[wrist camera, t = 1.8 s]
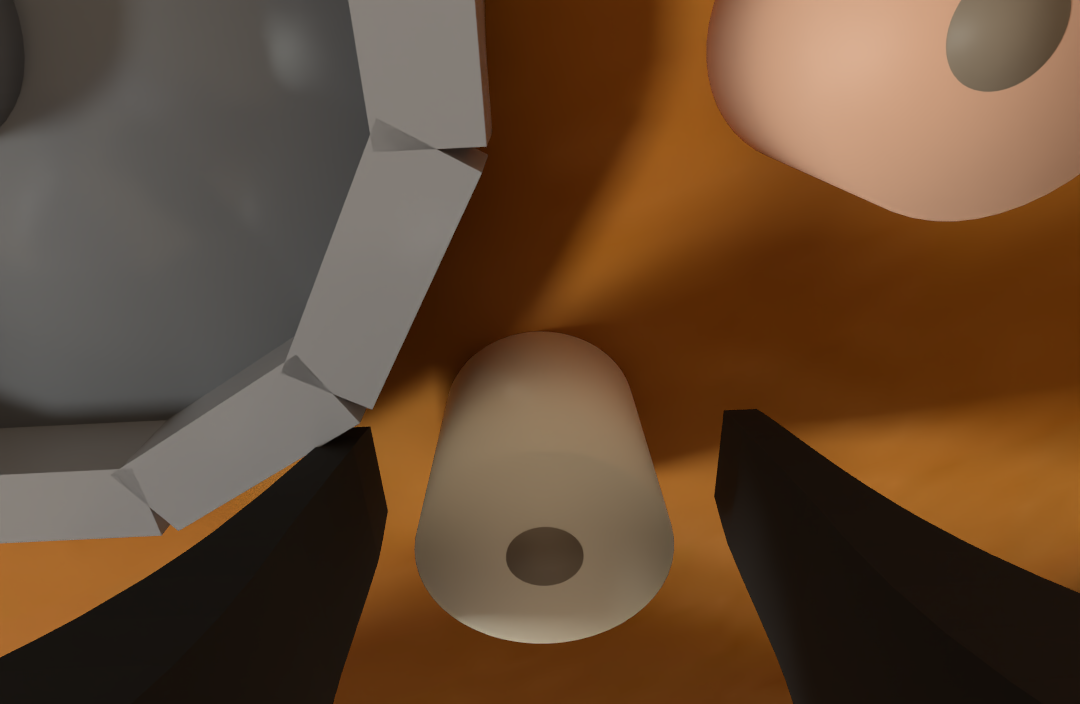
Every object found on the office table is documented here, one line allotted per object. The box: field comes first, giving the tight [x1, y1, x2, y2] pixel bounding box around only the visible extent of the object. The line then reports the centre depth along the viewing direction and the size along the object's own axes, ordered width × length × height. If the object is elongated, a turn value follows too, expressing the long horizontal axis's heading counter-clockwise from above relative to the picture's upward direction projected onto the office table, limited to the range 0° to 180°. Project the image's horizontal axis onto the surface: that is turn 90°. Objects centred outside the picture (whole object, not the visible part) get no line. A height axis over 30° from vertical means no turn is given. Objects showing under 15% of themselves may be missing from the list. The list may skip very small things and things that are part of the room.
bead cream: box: [415, 331, 674, 644], centre depth 11 cm, size 4×4×4 cm
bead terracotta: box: [707, 0, 1080, 221], centre depth 8 cm, size 4×4×4 cm
